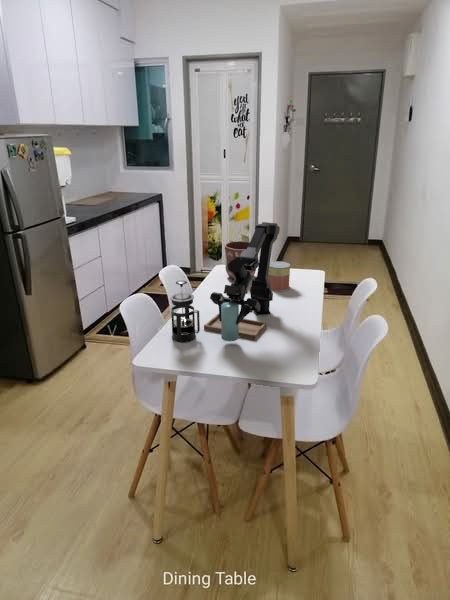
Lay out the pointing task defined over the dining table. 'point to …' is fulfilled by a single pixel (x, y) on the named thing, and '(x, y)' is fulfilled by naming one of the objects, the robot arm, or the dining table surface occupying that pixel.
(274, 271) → the canned food
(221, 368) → the dining table surface
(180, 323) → the french press
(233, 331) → the tumbler
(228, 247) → the pottery
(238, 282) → the robot arm
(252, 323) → the tray
